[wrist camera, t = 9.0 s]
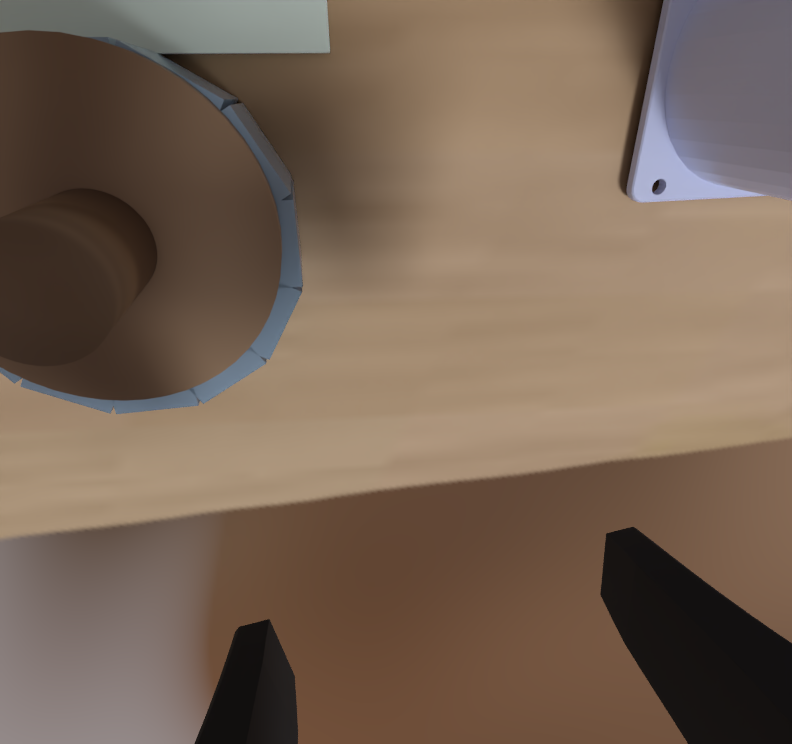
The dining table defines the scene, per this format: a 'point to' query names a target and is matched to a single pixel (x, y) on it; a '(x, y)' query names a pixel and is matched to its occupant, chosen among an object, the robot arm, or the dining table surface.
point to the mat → (182, 23)
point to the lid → (124, 224)
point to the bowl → (290, 260)
